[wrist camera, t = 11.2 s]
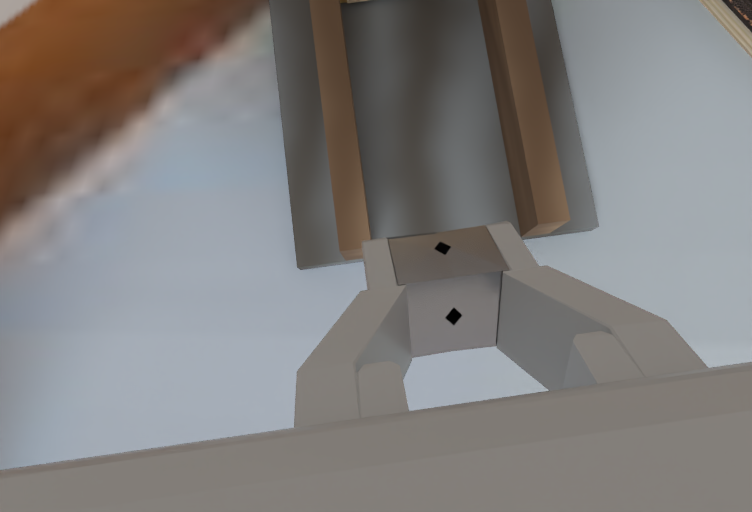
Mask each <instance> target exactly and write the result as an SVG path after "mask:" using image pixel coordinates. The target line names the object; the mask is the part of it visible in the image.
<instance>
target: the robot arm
mask: <svg viewBox="0 0 752 512" xmlns="http://www.w3.org/2000/svg"><path fill="white" fill-rule="evenodd" d="M362 251H363V259H364V266H365V274H366V281H367V289H368V290H364V291H360V293H359V294H358V295H357V296H356V298H355V299H354V300H353V301H352V303H351V304H350V305H349V306H348V308H347V309H346V310H345V311H344V313H343V314H342V315H341V317H340V318H339V319H338V320H337V322H336V323H335V324H334V325H333V327H332V328H331V329H330V330H329V332H328V333H327V334H326V336H325V337H324V338H323V339H322V341H321V342H320V343H319V344H318V346H317V347H316V348H315V349H314V351H313V352H312V353H311V355H310V356H309V357H308V358H307V360H306V361H305V362H304V363H303V365H302V366H301V367H300V368H299V370H298V371H297V381H296V399H295V418H294V428H289V429H282V430H275V431H268V432H261V433H255V434H248V435H241V436H234V437H227V438H220V439H213V440H206V441H199V442H192V443H185V444H178V445H171V446H165V447H158V448H151V449H144V450H137V451H130V452H123V453H116V454H109V455H102V456H95V457H88V458H81V459H74V460H67V461H60V462H53V463H46V464H39V465H33V466H26V467H19V468H12V469H5V470H0V512H752V362H747V363H740V364H733V365H726V366H719V367H712V368H708V367H707V366H706V364H705V363H704V362H703V361H702V360H701V359H700V358H699V356H698V355H697V354H696V353H695V352H694V351H693V350H692V348H691V347H690V346H689V345H688V344H687V343H686V342H685V340H684V339H683V338H682V337H681V336H680V335H679V334H678V332H677V331H676V330H675V329H674V328H673V327H672V326H671V324H670V323H669V322H668V321H667V320H665V319H663V318H661V317H659V316H656V315H654V314H652V313H650V312H648V311H645V310H643V309H641V308H639V307H637V306H635V305H632V304H630V303H628V302H626V301H624V300H621V299H619V298H617V297H615V296H613V295H610V294H608V293H606V292H604V291H602V290H599V289H597V288H595V287H593V286H591V285H588V284H586V283H584V282H582V281H580V280H578V279H575V278H573V277H571V276H569V275H567V274H564V273H562V272H560V271H558V270H556V269H553V268H551V267H549V266H539V265H538V263H537V262H536V260H535V259H534V257H533V256H532V254H531V253H530V251H529V250H528V248H527V247H526V245H525V244H524V242H523V241H522V239H521V237H520V236H519V234H518V233H517V231H516V230H515V228H514V227H513V225H512V224H511V223H510V222H508V221H504V222H498V223H492V224H486V225H482V226H476V227H469V228H463V229H456V230H450V231H443V232H437V233H436V232H431V233H422V234H414V235H405V236H396V237H387V239H386V238H378V239H371V240H364V241H362ZM492 346H497V348H498V349H499V350H500V351H501V352H503V353H504V354H505V355H506V356H507V357H509V358H510V359H511V360H512V361H514V362H515V363H516V364H517V365H518V366H520V367H521V368H522V369H523V370H525V371H526V372H527V373H528V374H530V375H531V376H532V377H533V378H534V379H536V380H537V381H538V382H539V383H541V384H542V385H543V386H544V387H546V388H547V389H548V390H549V391H544V392H538V393H531V394H524V395H517V396H510V397H503V398H496V399H489V400H483V401H476V402H469V403H462V404H455V405H448V406H441V407H434V408H428V409H421V410H414V411H409V409H408V404H407V399H406V394H405V389H404V384H403V379H404V377H405V374H406V372H407V370H408V368H409V366H410V363H411V361H412V358H414V357H420V356H426V355H432V354H438V353H444V352H450V351H457V350H466V349H474V348H483V347H492Z"/></svg>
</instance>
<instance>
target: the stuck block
mask: <svg viewBox="0 0 752 512" xmlns="http://www.w3.org/2000/svg"><path fill="white" fill-rule="evenodd" d="M362 1H369V0H347V4H348V3H355V2H362Z"/></svg>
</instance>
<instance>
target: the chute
mask: <svg viewBox="0 0 752 512" xmlns="http://www.w3.org/2000/svg"><path fill="white" fill-rule="evenodd" d="M269 5H270V14H271V24H272V33H273V42H274V52H275V61H276V71H277V80H278V90H279V99H280V109H281V118H282V128H283V137H284V147H285V156H286V166H287V175H288V185H289V194H290V204H291V213H292V222H293V232H294V241H295V251H296V260H297V268H299V269H300V270H303V269H311V268H318V267H325V266H333V265H340V264H348V263H355V262H362V261H364V259H363V251H362V241H364V240H371V239H378V238H386V239H387V237H396V236H405V235H414V234H422V233H431V232H436V233H437V232H443V231H450V230H456V229H463V228H469V227H476V226H482V225H486V224H492V223H498V222H504V221H508V222H510V223H511V224H512V225H513V227H514V228H515V230H516V231H517V233H518V234H519V236H520V237H521V239H522V240H525V239H532V238H540V237H547V236H554V235H562V234H569V233H576V232H584V231H591V230H593V229H595V228H597V227H599V224H598V219H597V215H596V210H595V205H594V200H593V196H592V191H591V186H590V182H589V177H588V172H587V167H586V163H585V158H584V153H583V149H582V144H581V139H580V134H579V130H578V125H577V120H576V116H575V111H574V106H573V101H572V97H571V92H570V87H569V83H568V78H567V73H566V68H565V64H564V59H563V54H562V50H561V45H560V40H559V35H558V31H557V26H556V21H555V17H554V12H553V7H552V2H551V0H369V1H362V2H355V3H348V4H347V0H269Z"/></svg>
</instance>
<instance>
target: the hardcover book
mask: <svg viewBox="0 0 752 512" xmlns="http://www.w3.org/2000/svg"><path fill="white" fill-rule="evenodd" d="M699 1H700V2H701V3H702V4H703V5H704V6H705V7H706V8H707V9H708V11H709V12H710V13H711V14H712V15H713V16H714V17H715V18H716V19H717V20H718V21H719V23H720V24H721V25H722V26H723V27H724V28H725V29H726V30H727V31H728V32H729V33H730V35H731V36H732V37H733V38H734V39H735V40H736V41H737V42H738V43H739V44H740V45H741V47H742V48H743V49H744V50H745V51H746V52H747V53H748V54H749V55H750V56H751V57H752V0H699Z"/></svg>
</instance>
